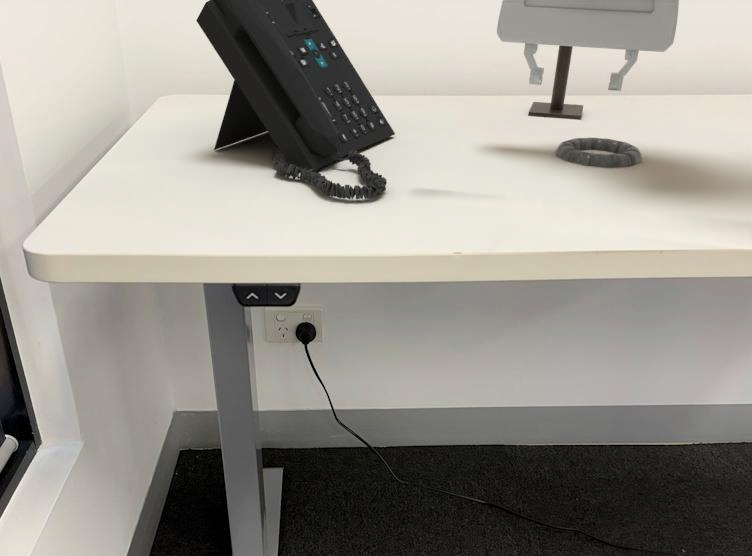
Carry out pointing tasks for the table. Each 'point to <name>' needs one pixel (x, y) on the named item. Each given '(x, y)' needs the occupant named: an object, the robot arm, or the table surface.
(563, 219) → the table surface
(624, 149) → the ring
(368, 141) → the office phone
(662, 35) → the robot arm
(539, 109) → the stand
